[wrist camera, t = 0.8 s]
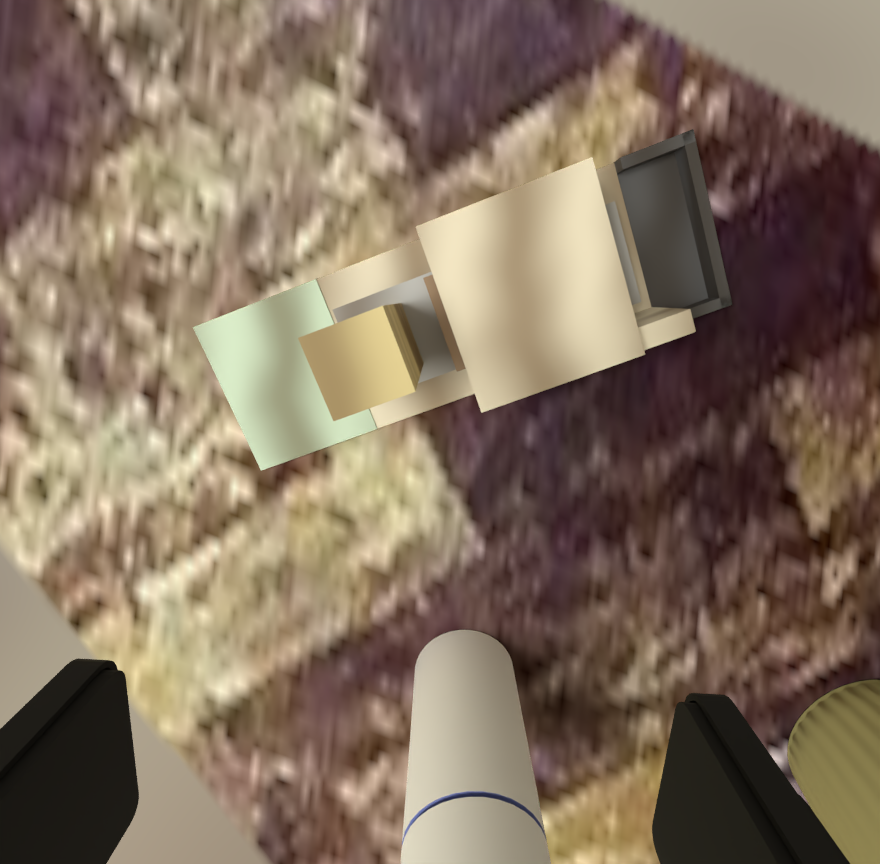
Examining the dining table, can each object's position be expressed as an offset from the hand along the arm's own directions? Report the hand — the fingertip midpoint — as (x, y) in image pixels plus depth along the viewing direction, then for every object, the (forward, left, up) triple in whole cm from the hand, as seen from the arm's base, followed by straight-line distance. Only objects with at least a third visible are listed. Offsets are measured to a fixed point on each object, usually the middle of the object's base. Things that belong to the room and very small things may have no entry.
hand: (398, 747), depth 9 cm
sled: (-5, -5, -24) cm, 25 cm away
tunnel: (-5, -5, -25) cm, 26 cm away
